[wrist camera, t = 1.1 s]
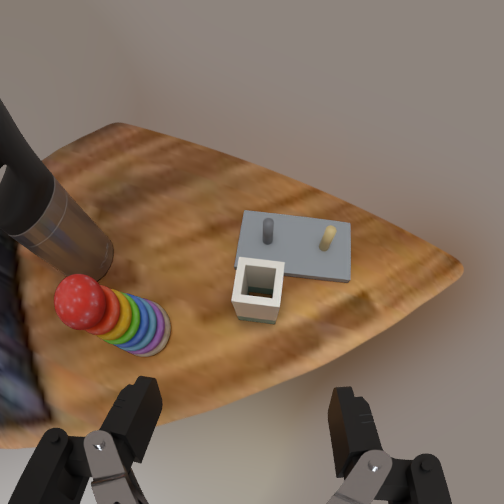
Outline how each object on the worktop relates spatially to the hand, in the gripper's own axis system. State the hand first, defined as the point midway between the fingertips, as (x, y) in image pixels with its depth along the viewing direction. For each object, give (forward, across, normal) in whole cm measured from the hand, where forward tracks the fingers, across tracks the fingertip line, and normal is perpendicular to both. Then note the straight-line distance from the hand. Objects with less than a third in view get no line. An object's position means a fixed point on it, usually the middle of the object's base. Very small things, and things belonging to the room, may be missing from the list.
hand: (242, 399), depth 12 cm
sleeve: (+25, 0, +9) cm, 27 cm away
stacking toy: (+22, +16, +12) cm, 30 cm away
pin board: (+31, -5, +3) cm, 32 cm away
